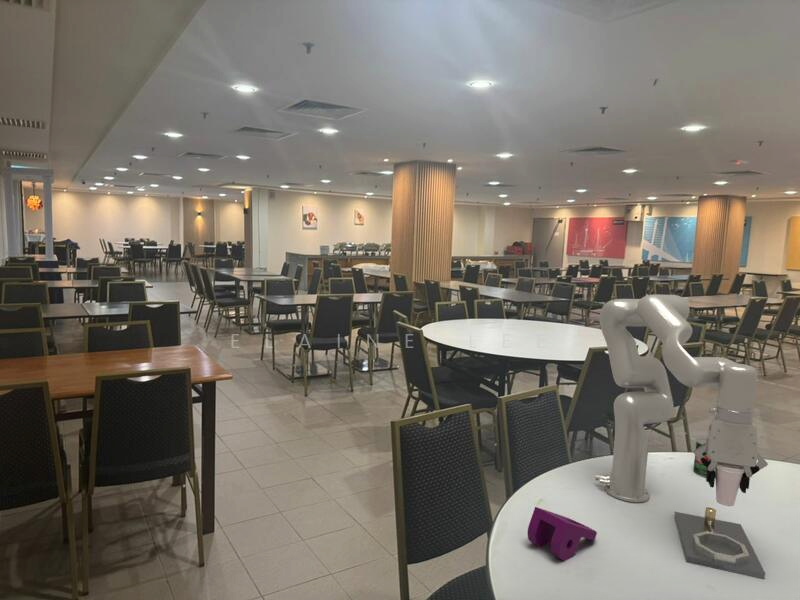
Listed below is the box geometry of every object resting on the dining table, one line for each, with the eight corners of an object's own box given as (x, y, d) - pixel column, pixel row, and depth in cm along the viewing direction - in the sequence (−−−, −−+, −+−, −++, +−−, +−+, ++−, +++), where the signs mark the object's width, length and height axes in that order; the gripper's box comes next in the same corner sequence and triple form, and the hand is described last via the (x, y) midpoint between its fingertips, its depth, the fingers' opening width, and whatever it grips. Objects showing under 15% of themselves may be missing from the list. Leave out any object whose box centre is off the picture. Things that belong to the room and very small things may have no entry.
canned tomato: (691, 474, 182) (694, 442, 181) (695, 467, 188) (698, 436, 187) (718, 481, 177) (721, 448, 176) (721, 473, 183) (724, 442, 182)
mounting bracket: (561, 550, 142) (523, 540, 132) (572, 519, 144) (535, 506, 133) (593, 567, 135) (555, 558, 124) (604, 534, 136) (567, 522, 126)
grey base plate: (686, 561, 129) (688, 540, 128) (674, 516, 151) (676, 497, 150) (764, 579, 123) (767, 556, 122) (740, 529, 145) (742, 510, 145)
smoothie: (712, 494, 135) (718, 440, 133) (742, 502, 131) (749, 447, 129) (707, 502, 130) (714, 446, 129) (738, 511, 126) (745, 454, 125)
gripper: (695, 414, 128) (688, 487, 130) (781, 425, 122) (773, 501, 124) (691, 406, 135) (684, 475, 137) (771, 416, 129) (764, 488, 131)
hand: (726, 487), depth 130 cm, fingers closed on smoothie, 6 cm apart
